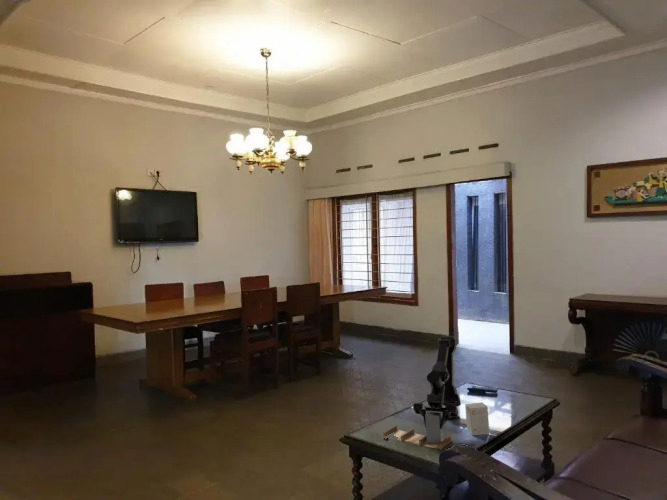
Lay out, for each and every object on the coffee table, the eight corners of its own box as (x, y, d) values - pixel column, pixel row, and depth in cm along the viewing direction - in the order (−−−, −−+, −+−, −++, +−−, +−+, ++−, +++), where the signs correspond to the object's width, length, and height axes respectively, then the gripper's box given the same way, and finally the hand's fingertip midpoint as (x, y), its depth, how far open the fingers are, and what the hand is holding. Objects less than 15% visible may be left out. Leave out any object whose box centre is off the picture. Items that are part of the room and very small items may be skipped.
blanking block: (427, 443, 218) (425, 414, 218) (429, 440, 221) (427, 411, 221) (441, 445, 215) (439, 415, 215) (443, 441, 219) (441, 412, 219)
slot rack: (383, 438, 229) (382, 432, 229) (395, 431, 237) (394, 425, 237) (440, 451, 211) (440, 444, 211) (451, 443, 219) (451, 436, 219)
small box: (484, 430, 230) (482, 401, 230) (489, 435, 224) (487, 406, 224) (466, 432, 230) (464, 403, 230) (472, 437, 223) (470, 408, 223)
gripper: (412, 384, 225) (407, 418, 215) (455, 386, 218) (451, 421, 208) (418, 396, 233) (413, 429, 223) (459, 399, 225) (456, 433, 215)
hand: (433, 428), depth 217 cm, fingers closed on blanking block, 6 cm apart
